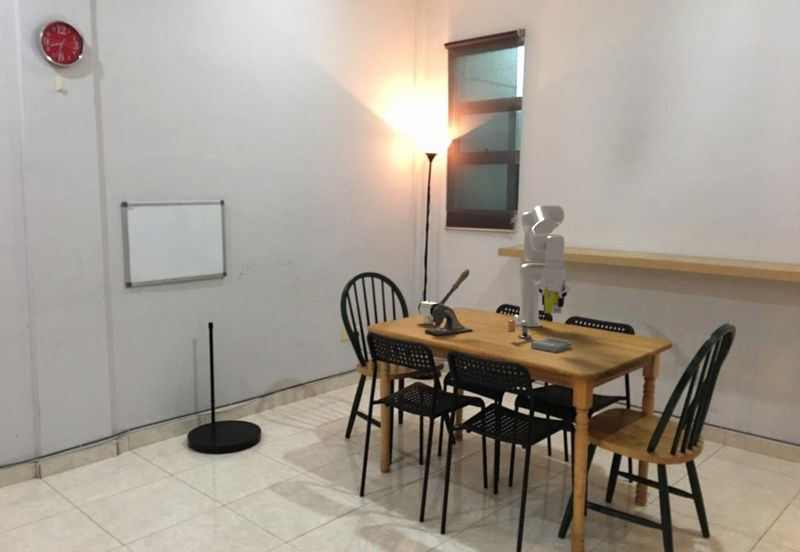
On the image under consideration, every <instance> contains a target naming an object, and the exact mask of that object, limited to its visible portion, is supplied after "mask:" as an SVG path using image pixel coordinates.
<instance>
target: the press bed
mask: <svg viewBox="0 0 800 552" xmlns="http://www.w3.org/2000/svg"><path fill="white" fill-rule="evenodd" d="M571 348H572V343H571V342H569V340H565V339H560V338H555V337H554V338H553V337H547V339H545V338H544V339H542V340H538V341H537V340H534V341H533V342H532V343H530V349H535V350H541V351H545V352H551V353H555V354H556V353H560V352H561V351H566V350H569V349H571Z"/></svg>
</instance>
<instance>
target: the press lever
mask: <svg viewBox="0 0 800 552" xmlns="http://www.w3.org/2000/svg"><path fill="white" fill-rule="evenodd" d="M507 323H508V327H507V329H508V330H507V331H508V333H515V332H516V328H520V327H522V326H530V321H529V320H521V321H520V322H518V323H516V319H509V320H508V322H507Z"/></svg>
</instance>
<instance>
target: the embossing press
mask: <svg viewBox="0 0 800 552" xmlns="http://www.w3.org/2000/svg"><path fill="white" fill-rule="evenodd" d="M469 275H470V270H469V269H467V268H466V269H465V270H464V271H462V272H461V273H460V275H459V277H458V278H457V280H456V281H455V282H454V283H453V284H452V287H450V289H449V291H448V292H447V294H446V295H444V297H443V298H442V299H441V301H440V302H437V303H438V305H437V306H436V307H435V308H434V309H433V316H432V317H433V324H434V325H433V328H426V329H425V330H424V333H425V334H429V335H435V336H444V335H454V334H460V333H461V334H462V333H470V332H474V330H473V329H472V328H470V327H465V326H464V325H463V324H461V322H460V321H459V320H458V318H457V315H456V313H455V311H454V309H452V308H451V307H449V306H447V305H445V303H446V302H447V301H448V300H449V298H450V297H451V296H452V295H453V293H454V292H455V291H456V290H457V289H459V287H460V285H461V284H462V283H463V282H464V281H465V280H466V279H467V278H468V277H469ZM444 319H445V325H444V326H443V327H441V326H442V324H443V323H444ZM436 327H437V328H436Z"/></svg>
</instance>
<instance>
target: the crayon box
mask: <svg viewBox="0 0 800 552" xmlns="http://www.w3.org/2000/svg"><path fill="white" fill-rule="evenodd" d="M558 298H560V297H559V294H558V292H552V291H548V288H547V287H546V291H544V305H543V313H544V314H562V311H563V307H558Z"/></svg>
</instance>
